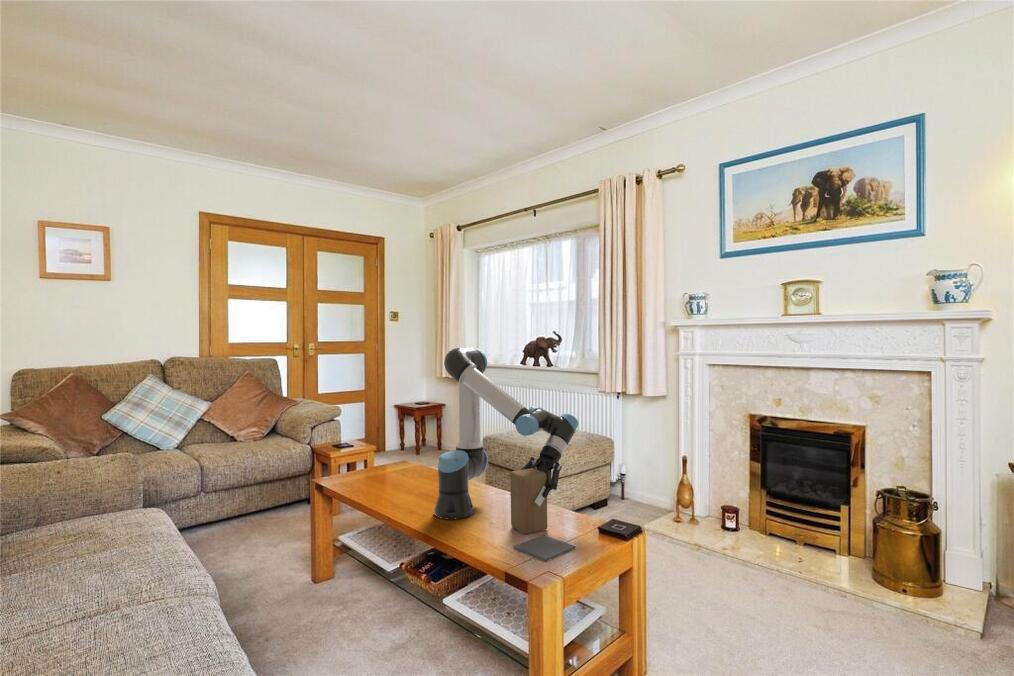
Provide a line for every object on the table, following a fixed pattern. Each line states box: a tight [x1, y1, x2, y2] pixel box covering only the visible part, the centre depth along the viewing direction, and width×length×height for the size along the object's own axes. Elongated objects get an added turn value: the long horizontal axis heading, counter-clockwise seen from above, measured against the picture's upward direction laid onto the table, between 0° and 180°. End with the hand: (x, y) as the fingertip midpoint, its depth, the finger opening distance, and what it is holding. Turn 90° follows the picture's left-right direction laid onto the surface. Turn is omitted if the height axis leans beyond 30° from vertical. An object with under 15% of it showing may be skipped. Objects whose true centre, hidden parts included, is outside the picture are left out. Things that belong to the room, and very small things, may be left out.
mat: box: [513, 534, 576, 562], centre depth 163 cm, size 14×14×1 cm
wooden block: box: [509, 468, 548, 535], centre depth 181 cm, size 10×10×20 cm
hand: (524, 500), depth 180 cm, fingers closed on wooden block, 12 cm apart
